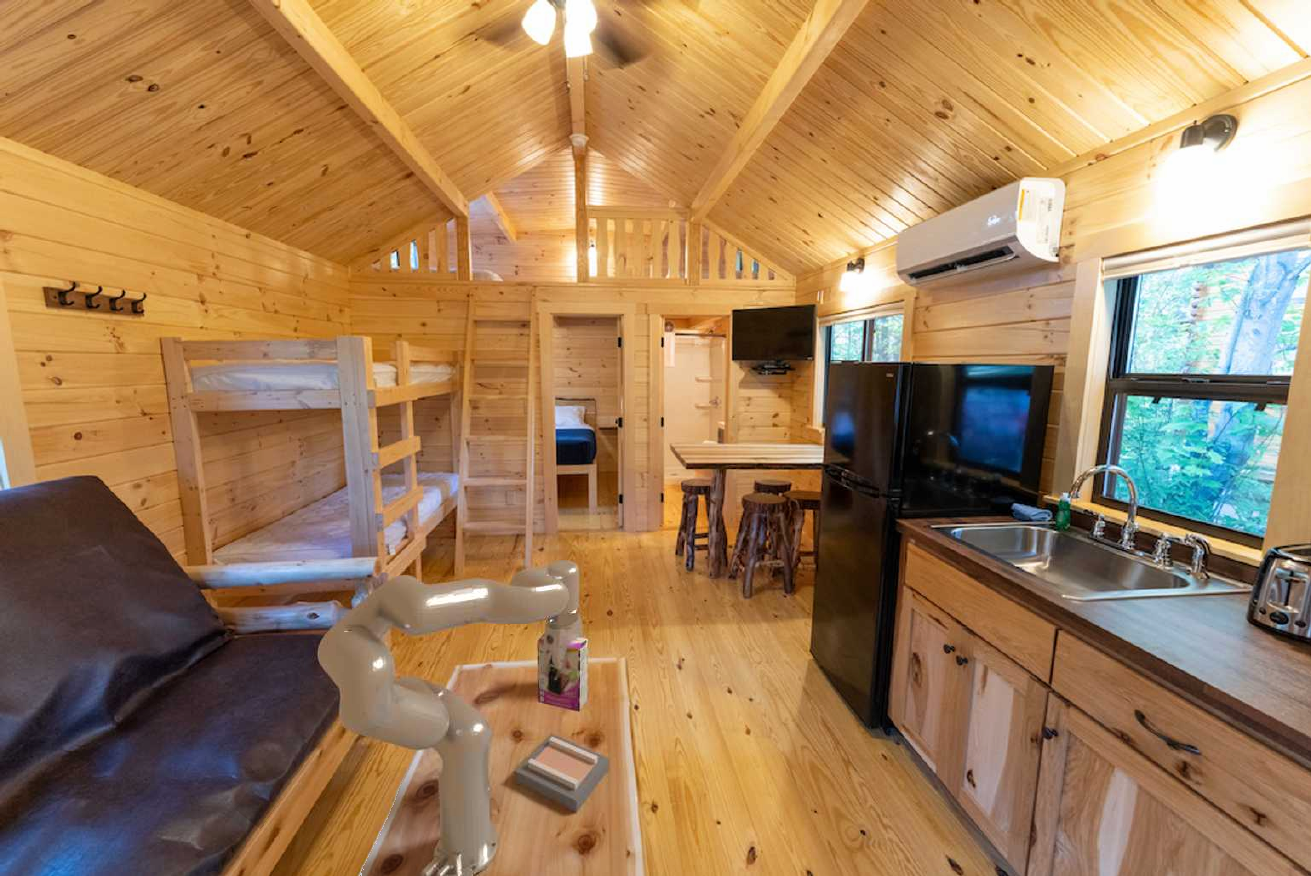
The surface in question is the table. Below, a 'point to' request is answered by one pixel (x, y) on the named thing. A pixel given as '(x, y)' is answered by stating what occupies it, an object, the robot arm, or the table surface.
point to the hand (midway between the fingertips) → (562, 683)
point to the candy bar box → (567, 677)
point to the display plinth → (562, 771)
